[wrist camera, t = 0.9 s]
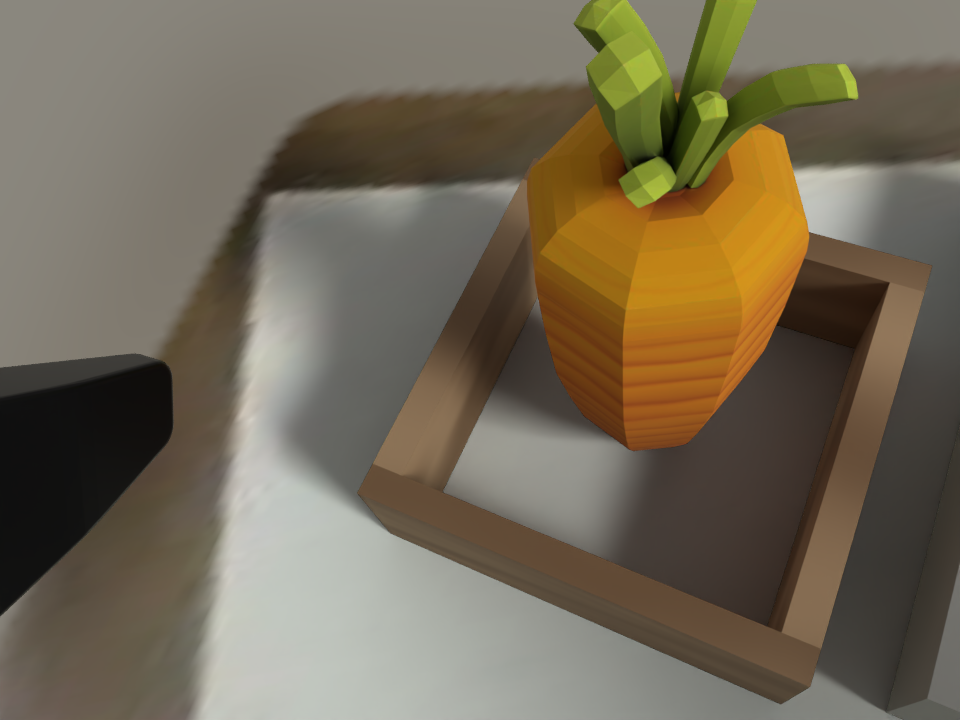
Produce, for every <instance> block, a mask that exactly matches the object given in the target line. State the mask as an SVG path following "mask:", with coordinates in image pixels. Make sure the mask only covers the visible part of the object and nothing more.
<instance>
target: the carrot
mask: <svg viewBox="0 0 960 720" xmlns="http://www.w3.org/2000/svg"><path fill="white" fill-rule="evenodd" d="M756 1H757V0H706V3H705V6H704V10H703V14H702V17H701V20H700V24H699V27H698V31H697V34H696V38H695V41H694V45H693V48H692V52H691V55H690V59H689V62H688V66H687V69H686V73H685V77H684V80H683V84H682V88H681V91H680V92H678V93H674V89H673V86H672V82H671V79H670V76H669V73H668V70H667V67H666V65H665V61H664V58H663V55H662V53H661V52H660V50H659V48H658V47H657V45H656V43H655V41H654V40H653V38H652V36H651V35H650V33H649V31H648V29H647V28H646V26H645V24H644V23H643V21H642V20H641V19H640V18H639V16H638V15H637V14H636V12H635V11H634V10H633V8H632V7H631V6H630V4H629V3H628V2H627V0H591V1H590V2H589V3H588V4H586V5H585V6H584V8H583V9H582V11H581V12H580V14H579V16H578V17H577V19H576V21H575V22H574V25H575V26H576V28H577V29H578V30H579V31H580V32H581V33H582V35H583V36H584V37H585V38H586V39H587V41H588V42H589V43H590V44H591V45H592V46H593V47H594V49H596V51H597V52H598V55H597V56H596V57H595V58H594V59H593V60H592V61H591V62H590V63H589V64H588V65H587V66H586V70H587V75H588V81H589V86H590V88H591V91H592V93H593V96H594V98H595V101H596V103H597V104H595V105H594V106H593V107H592V108H591V109H590V110H589V111H588V112H587V113H586V114H585V115H584V116H583V117H582V118H581V119H580V120H579V121H578V122H577V123H576V124H575V125H574V126H573V127H572V128H571V129H570V130H569V131H568V132H567V133H566V134H565V135H564V136H563V137H562V138H561V139H560V140H559V141H558V142H557V143H556V144H555V145H554V146H553V147H552V148H551V149H550V150H549V151H548V152H547V153H546V154H545V155H544V156H543V157H542V158H541V159H540V160H539V161H538V162H537V163H536V164H535V165H534V166H533V167H532V168H531V171H530V174H529V177H528V180H527V201H528V212H529V222H530V233H531V244H532V255H533V265H534V276H535V284H536V289H537V294H538V299H539V304H540V309H541V314H542V319H543V323H544V328H545V333H546V337H547V340H548V344H549V348H550V351H551V355H552V359H553V363H554V366H555V370H556V373H557V375H558V377H559V378H560V380H561V382H562V384H563V385H564V387H565V389H566V391H567V392H568V394H569V396H570V397H571V399H572V400H573V402H574V403H575V404H576V406H577V407H578V408H579V410H580V411H581V413H582V414H583V415H584V417H586V418H587V419H589V420H590V421H591V422H593V423H594V424H595V425H597V426H598V427H599V428H601V429H602V430H603V431H605V432H606V433H608V434H609V435H610V436H612V437H613V438H614V439H616V440H617V441H618V442H620V443H621V444H622V445H624V446H625V447H627V448H628V449H629V450H632V451H638V450H648V449H659V448H669V447H676V446H680V445H684V444H687V443H688V442H689V441H690V440H691V439H692V438H693V437H694V436H695V435H696V434H697V433H698V432H699V431H700V430H701V428H702V427H703V426H704V425H705V424H706V422H707V421H708V420H709V419H710V418H711V416H712V415H713V414H714V413H715V412H716V410H717V409H718V408H719V407H720V406H721V404H722V403H723V402H724V401H725V400H726V398H727V397H728V396H729V395H730V393H731V392H732V391H733V390H734V389H735V387H736V386H737V385H738V384H739V383H740V381H741V380H742V379H743V378H744V376H745V375H746V374H747V372H748V371H749V370H750V369H751V367H752V366H753V365H754V363H755V362H756V361H757V359H758V358H759V357H760V355H761V354H762V353H763V351H764V350H765V348H766V346H767V343H768V341H769V339H770V337H771V335H772V333H773V331H774V328H775V326H776V324H777V322H778V320H779V318H780V316H781V314H782V311H783V309H784V307H785V305H786V302H787V300H788V297H789V295H790V292H791V290H792V287H793V285H794V282H795V280H796V277H797V275H798V272H799V270H800V267H801V265H802V262H803V260H804V257H805V255H806V252H807V249H808V242H809V231H808V225H807V220H806V216H805V213H804V209H803V205H802V202H801V198H800V195H799V191H798V187H797V184H796V180H795V176H794V173H793V169H792V165H791V162H790V158H789V154H788V151H787V147H786V143H785V140H784V136H783V135H781V134H779V133H777V132H775V131H774V130H772V129H770V128H768V127H766V126H764V125H762V124H760V123H762V122H764V121H766V120H768V119H770V118H772V117H773V116H776V115H778V114H781V113H783V112H786V111H788V110H791V109H793V108H797V107H806V106H815V105H824V104H831V103H837V102H843V101H849V100H855V99H858V92H857V87H856V80H855V79H854V77H853V75H852V74H851V72H850V70H849V69H848V67H847V66H846V65H845V64H809V65H804V66H798V67H792V68H787V69H781V70H777V71H774V72H771V73H770V74H768V75H766V76H764V77H763V78H761V79H759V80H757V81H756V82H754V83H752V84H750V85H749V86H747V87H745V88H744V89H742V90H741V91H740V92H738V93H737V94H736V95H734V96H733V97H732V98H730V99H729V100H728V101H726V100H725V99H724V98H723V97H722V96H721V95H720V94H719V90H720V88H721V85H722V83H723V81H724V78H725V76H726V73H727V71H728V69H729V66H730V64H731V61H732V59H733V56H734V54H735V52H736V49H737V47H738V44H739V42H740V40H741V37H742V35H743V33H744V30H745V28H746V25H747V23H748V21H749V18H750V16H751V13H752V11H753V9H754V6H755V4H756Z"/></svg>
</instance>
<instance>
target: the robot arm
mask: <svg viewBox="0 0 960 720" xmlns="http://www.w3.org/2000/svg"><path fill="white" fill-rule="evenodd" d="M173 423H174V420H173V385H172V373H171V370H170V368H169V366H168V365H167V364H166V363H165V362H163V361H160V360H157V359H154V358H151V357H147V356H144V355H141V354H126V355H115V356H106V357H97V358H87V359H78V360H69V361H59V362H50V363H40V364H31V365H21V366H12V367H3V368H0V616H1V615H2V614H4V613H5V612H6V611H7V610H8V609H9V608H10V607H11V606H12V605H13V604H14V603H15V602H16V601H17V600H18V599H20V598H21V597H22V596H23V595H24V594H25V593H26V592H27V591H28V590H29V589H30V588H31V587H32V586H33V585H35V584H36V583H37V582H38V581H39V580H40V579H41V578H42V577H43V576H44V575H45V574H46V573H47V572H48V571H49V570H51V569H52V568H53V567H54V566H55V565H56V564H57V563H58V562H59V561H60V560H61V559H62V558H63V557H64V556H65V555H67V554H68V553H69V552H70V551H71V550H72V549H73V548H74V547H75V546H76V545H77V544H78V543H79V542H80V541H81V540H82V539H83V538H84V537H85V536H86V535H87V534H88V533H89V532H90V531H91V530H92V529H93V527H94V526H95V525H96V524H97V523H98V522H99V521H100V520H101V519H102V518H103V516H104V515H105V514H106V513H107V512H108V511H109V510H110V508H111V507H112V506H113V505H114V504H115V503H116V502H117V500H118V499H119V498H120V497H121V496H122V495H123V494H124V493H125V491H126V490H127V489H128V488H129V487H130V486H131V485H132V483H133V482H134V481H135V480H136V479H137V478H138V477H139V475H140V474H141V473H142V472H143V471H144V470H145V469H146V468H147V466H148V465H149V464H150V463H151V462H152V461H153V460H154V458H155V457H156V456H157V455H158V454H159V453H160V452H161V450H162V449H163V448H164V447H165V446H166V444H167V443H168V441H169V439H170V437H171V434H172V431H173Z"/></svg>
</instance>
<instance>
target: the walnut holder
mask: <svg viewBox="0 0 960 720" xmlns="http://www.w3.org/2000/svg"><path fill="white" fill-rule="evenodd" d="M539 160H540V159H537V158H534V159H533V161H532V163H531V164H530V166H529V168H528V170H527V172H526V174H525V176H524V178H523V180H522V181H521V183H520V185H519V187H518V189H517V191H516V193H515V195H514V197H513V199H512V200H511V202H510V204H509V206H508V208H507V210H506V212H505V214H504V216H503V218H502V219H501V221H500V223H499V225H498V227H497V229H496V231H495V233H494V235H493V236H492V238H491V240H490V242H489V244H488V246H487V248H486V250H485V252H484V254H483V255H482V257H481V259H480V261H479V263H478V265H477V267H476V269H475V271H474V273H473V274H472V276H471V278H470V280H469V282H468V284H467V286H466V288H465V290H464V291H463V293H462V295H461V297H460V299H459V301H458V303H457V305H456V307H455V309H454V310H453V312H452V314H451V316H450V318H449V320H448V322H447V324H446V326H445V328H444V329H443V331H442V333H441V335H440V337H439V339H438V341H437V343H436V345H435V346H434V348H433V350H432V352H431V354H430V356H429V358H428V360H427V362H426V364H425V365H424V367H423V369H422V371H421V373H420V375H419V377H418V379H417V381H416V382H415V384H414V386H413V388H412V390H411V392H410V394H409V396H408V398H407V400H406V401H405V403H404V405H403V407H402V409H401V411H400V413H399V415H398V417H397V419H396V420H395V422H394V424H393V426H392V428H391V430H390V432H389V434H388V436H387V437H386V439H385V441H384V443H383V445H382V447H381V449H380V451H379V453H378V455H377V456H376V458H375V460H374V462H373V464H372V466H371V468H370V470H369V472H368V474H367V475H366V477H365V479H364V481H363V483H362V485H361V487H360V489H359V491H358V492H357V494H358V495H359V496H360V497H361V498H362V500H363V501H364V502H365V503H366V504H367V506H368V507H369V508H370V509H371V510H372V511H373V513H374V514H375V515H376V516H377V517H378V519H379V520H380V521H381V522H382V523H383V525H384V526H385V527H386V528H387V529H388V531H389V532H390V533H391V534H393V535H396V536H398V537H400V538H402V539H405V540H407V541H409V542H412V543H414V544H416V545H418V546H421V547H423V548H425V549H428V550H430V551H432V552H434V553H437V554H439V555H441V556H444V557H446V558H448V559H450V560H453V561H455V562H457V563H459V564H462V565H464V566H466V567H469V568H471V569H473V570H475V571H478V572H480V573H482V574H485V575H487V576H489V577H491V578H494V579H496V580H498V581H501V582H503V583H505V584H507V585H510V586H512V587H514V588H516V589H519V590H521V591H523V592H526V593H528V594H530V595H532V596H535V597H537V598H539V599H542V600H544V601H546V602H548V603H551V604H553V605H555V606H558V607H560V608H562V609H564V610H567V611H569V612H571V613H574V614H576V615H578V616H580V617H583V618H585V619H587V620H589V621H592V622H594V623H596V624H599V625H601V626H603V627H605V628H608V629H610V630H612V631H615V632H617V633H619V634H621V635H624V636H626V637H628V638H631V639H633V640H635V641H637V642H640V643H642V644H644V645H647V646H649V647H651V648H653V649H656V650H658V651H660V652H662V653H665V654H667V655H669V656H672V657H674V658H676V659H678V660H681V661H683V662H685V663H688V664H690V665H692V666H694V667H697V668H699V669H701V670H704V671H706V672H708V673H710V674H713V675H715V676H717V677H720V678H722V679H724V680H726V681H729V682H731V683H733V684H735V685H738V686H740V687H742V688H745V689H747V690H749V691H751V692H754V693H756V694H758V695H761V696H763V697H765V698H767V699H770V700H772V701H774V702H777V703H779V704H782V703H784V702H786V701H787V700H789V699H791V698H792V697H794V696H796V695H797V694H799V693H801V692H802V691H804V690H806V689H808V688H809V687H810V685H811V682H812V679H813V675H814V672H815V668H816V665H817V661H818V658H819V654H820V651H821V648H822V644H823V641H824V637H825V634H826V630H827V627H828V623H829V620H830V617H831V613H832V610H833V606H834V603H835V599H836V596H837V592H838V589H839V586H840V582H841V579H842V575H843V572H844V568H845V565H846V561H847V558H848V555H849V551H850V548H851V544H852V541H853V537H854V534H855V530H856V527H857V524H858V520H859V517H860V513H861V510H862V506H863V503H864V499H865V496H866V492H867V489H868V486H869V482H870V479H871V475H872V472H873V468H874V465H875V461H876V458H877V455H878V451H879V448H880V444H881V441H882V437H883V434H884V430H885V427H886V424H887V420H888V417H889V413H890V410H891V406H892V403H893V399H894V396H895V393H896V389H897V386H898V382H899V379H900V375H901V372H902V368H903V365H904V362H905V358H906V355H907V351H908V348H909V344H910V341H911V337H912V334H913V331H914V327H915V324H916V320H917V317H918V313H919V310H920V306H921V303H922V300H923V296H924V293H925V289H926V286H927V282H928V279H929V275H930V272H931V269H932V265H928V264H924V263H921V262H917V261H913V260H910V259H906V258H902V257H899V256H895V255H891V254H888V253H884V252H880V251H877V250H873V249H869V248H865V247H862V246H858V245H854V244H851V243H847V242H843V241H840V240H836V239H832V238H829V237H825V236H821V235H817V234H814V233H810V232H809V242H808V249H807V252H806V255H805V257H804V260H803V262H802V265H801V267H800V270H799V272H798V275H797V277H796V280H795V282H794V285H793V287H792V290H791V292H790V295H789V297H788V300H787V302H786V305H785V307H784V309H783V311H782V314H781V316H780V318H779V320H778V322H777V324H776V325H780V326H783V327H786V328H789V329H793V330H796V331H799V332H802V333H806V334H809V335H812V336H815V337H819V338H822V339H825V340H829V341H832V342H835V343H838V344H842V345H845V346H848V347H851V348H855V351H854V354H853V357H852V360H851V363H850V366H849V370H848V373H847V376H846V379H845V382H844V385H843V389H842V392H841V395H840V398H839V401H838V404H837V407H836V411H835V414H834V417H833V420H832V423H831V426H830V430H829V433H828V436H827V439H826V442H825V445H824V448H823V452H822V455H821V458H820V461H819V464H818V467H817V471H816V474H815V477H814V480H813V483H812V486H811V490H810V493H809V496H808V499H807V502H806V505H805V508H804V512H803V515H802V518H801V521H800V524H799V527H798V531H797V534H796V537H795V540H794V543H793V546H792V550H791V553H790V556H789V559H788V562H787V565H786V568H785V572H784V575H783V578H782V581H781V584H780V587H779V591H778V594H777V597H776V600H775V603H774V606H773V609H772V613H771V616H770V619H769V622H768V625H767V626H765V625H762V624H760V623H757V622H755V621H753V620H750V619H748V618H745V617H743V616H740V615H738V614H736V613H733V612H731V611H728V610H726V609H723V608H721V607H719V606H716V605H714V604H711V603H709V602H707V601H704V600H702V599H699V598H697V597H694V596H692V595H690V594H687V593H685V592H682V591H680V590H677V589H675V588H673V587H670V586H668V585H665V584H663V583H661V582H658V581H656V580H653V579H651V578H648V577H646V576H644V575H641V574H639V573H636V572H634V571H632V570H629V569H627V568H624V567H622V566H619V565H617V564H615V563H612V562H610V561H607V560H605V559H602V558H600V557H598V556H595V555H593V554H590V553H588V552H586V551H583V550H581V549H578V548H576V547H573V546H571V545H569V544H566V543H564V542H561V541H559V540H556V539H554V538H552V537H549V536H547V535H544V534H542V533H540V532H537V531H535V530H532V529H530V528H527V527H525V526H523V525H520V524H518V523H515V522H513V521H511V520H508V519H506V518H503V517H501V516H498V515H496V514H494V513H491V512H489V511H486V510H484V509H481V508H479V507H477V506H474V505H472V504H469V503H467V502H465V501H462V500H460V499H457V498H455V497H452V496H450V495H448V494H445V493H443V490H444V488H445V486H446V484H447V481H448V479H449V477H450V475H451V473H452V471H453V469H454V467H455V465H456V463H457V461H458V459H459V457H460V455H461V453H462V451H463V449H464V447H465V445H466V443H467V440H468V438H469V436H470V434H471V432H472V430H473V428H474V426H475V424H476V422H477V420H478V418H479V416H480V414H481V412H482V410H483V408H484V406H485V404H486V402H487V400H488V397H489V395H490V393H491V391H492V389H493V387H494V385H495V383H496V381H497V379H498V377H499V375H500V373H501V371H502V369H503V367H504V365H505V363H506V361H507V359H508V356H509V354H510V352H511V350H512V348H513V346H514V344H515V342H516V340H517V338H518V336H519V334H520V332H521V330H522V328H523V326H524V324H525V322H526V320H527V318H528V315H529V313H530V311H531V309H532V307H533V305H534V303H535V301H536V299H537V297H538V294H537V289H536V284H535V276H534V265H533V255H532V244H531V233H530V222H529V212H528V201H527V180H528V177H529V174H530V171H531V168H532V167H533V166H534V165H535V164H536V163H537V162H538V161H539Z"/></svg>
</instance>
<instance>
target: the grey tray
mask: <svg viewBox="0 0 960 720" xmlns="http://www.w3.org/2000/svg"><path fill="white" fill-rule="evenodd" d="M887 713H889V714H891V715H894V716H896V717H898V718H901V719H903V720H960V425H959V429H958V433H957V437H956V441H955V445H954V449H953V453H952V457H951V461H950V465H949V469H948V472H947V476H946V480H945V484H944V488H943V492H942V496H941V500H940V504H939V508H938V512H937V516H936V520H935V523H934V527H933V531H932V535H931V539H930V543H929V547H928V551H927V555H926V559H925V563H924V567H923V571H922V574H921V578H920V582H919V586H918V590H917V594H916V598H915V602H914V606H913V610H912V614H911V618H910V622H909V625H908V629H907V633H906V637H905V641H904V645H903V649H902V653H901V657H900V661H899V665H898V669H897V673H896V676H895V680H894V684H893V688H892V692H891V696H890V700H889V704H888V708H887Z"/></svg>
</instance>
